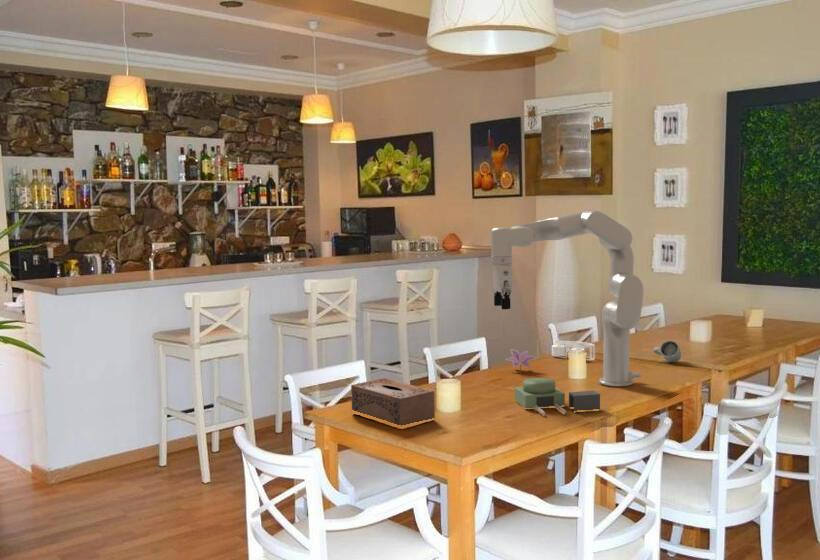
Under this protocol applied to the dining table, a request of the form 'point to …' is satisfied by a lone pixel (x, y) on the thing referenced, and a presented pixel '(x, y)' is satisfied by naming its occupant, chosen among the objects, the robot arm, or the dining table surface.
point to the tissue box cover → (393, 401)
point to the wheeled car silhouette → (559, 349)
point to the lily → (520, 358)
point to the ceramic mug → (669, 351)
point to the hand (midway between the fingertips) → (502, 307)
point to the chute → (584, 400)
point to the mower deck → (539, 394)
